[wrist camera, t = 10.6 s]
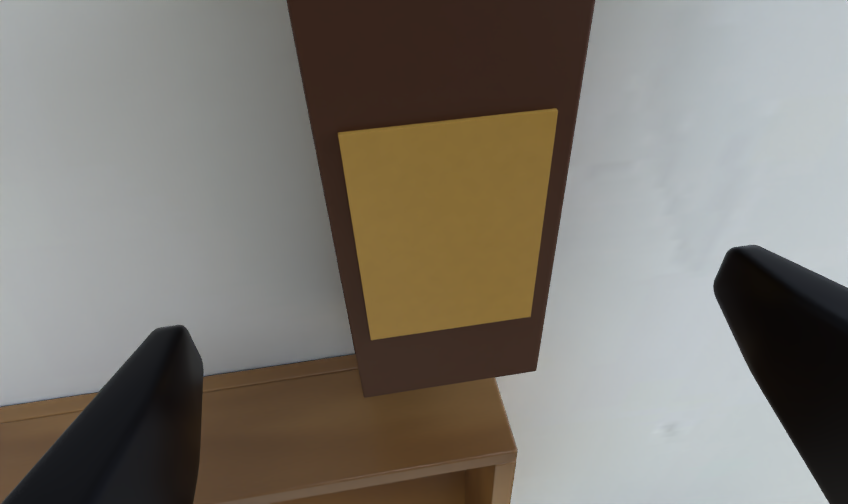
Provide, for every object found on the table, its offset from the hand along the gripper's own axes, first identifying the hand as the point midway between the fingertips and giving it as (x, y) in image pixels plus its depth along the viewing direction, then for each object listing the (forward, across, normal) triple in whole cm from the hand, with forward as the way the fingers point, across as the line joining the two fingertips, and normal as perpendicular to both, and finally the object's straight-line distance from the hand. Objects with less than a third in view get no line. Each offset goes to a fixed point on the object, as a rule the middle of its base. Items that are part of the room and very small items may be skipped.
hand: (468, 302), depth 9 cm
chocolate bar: (+5, 0, 0) cm, 5 cm away
